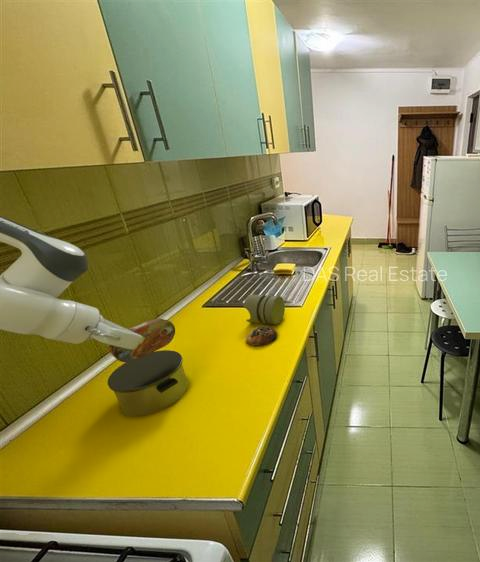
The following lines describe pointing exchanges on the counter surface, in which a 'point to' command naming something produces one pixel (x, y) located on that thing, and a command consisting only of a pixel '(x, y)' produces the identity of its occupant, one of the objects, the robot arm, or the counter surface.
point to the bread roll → (261, 335)
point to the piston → (265, 309)
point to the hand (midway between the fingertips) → (138, 338)
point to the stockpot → (149, 383)
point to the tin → (146, 340)
